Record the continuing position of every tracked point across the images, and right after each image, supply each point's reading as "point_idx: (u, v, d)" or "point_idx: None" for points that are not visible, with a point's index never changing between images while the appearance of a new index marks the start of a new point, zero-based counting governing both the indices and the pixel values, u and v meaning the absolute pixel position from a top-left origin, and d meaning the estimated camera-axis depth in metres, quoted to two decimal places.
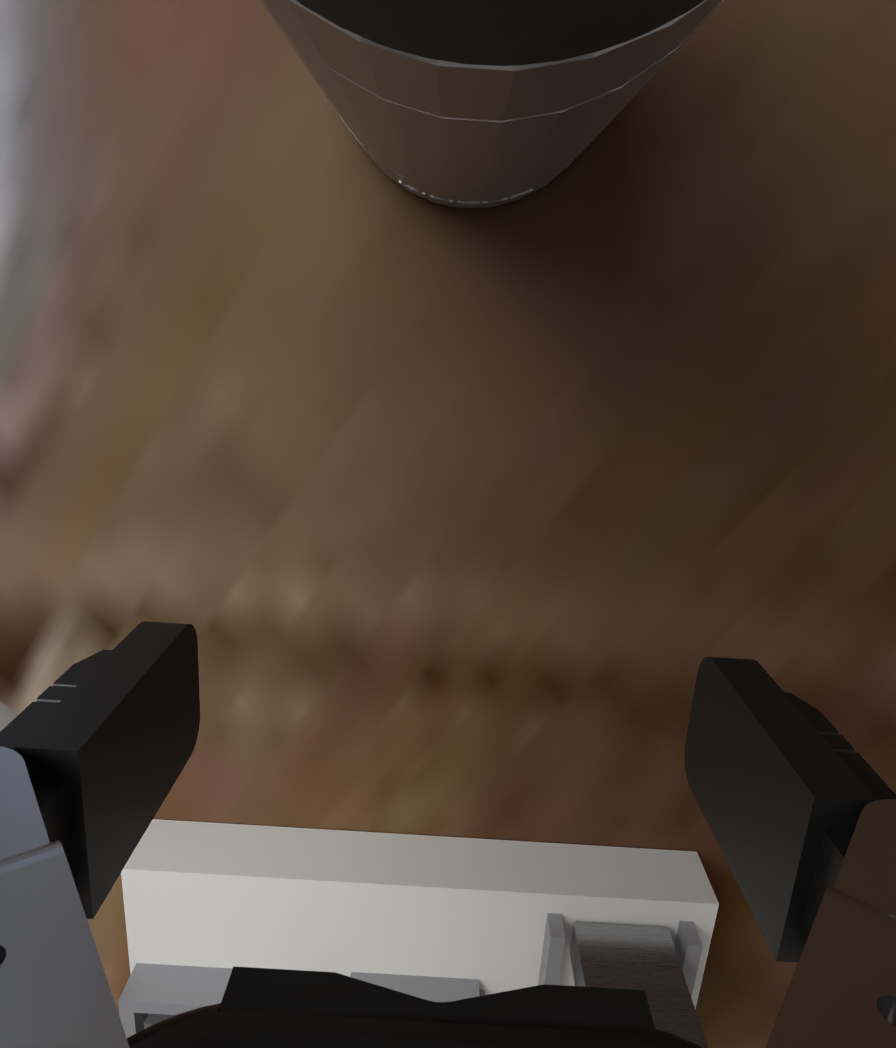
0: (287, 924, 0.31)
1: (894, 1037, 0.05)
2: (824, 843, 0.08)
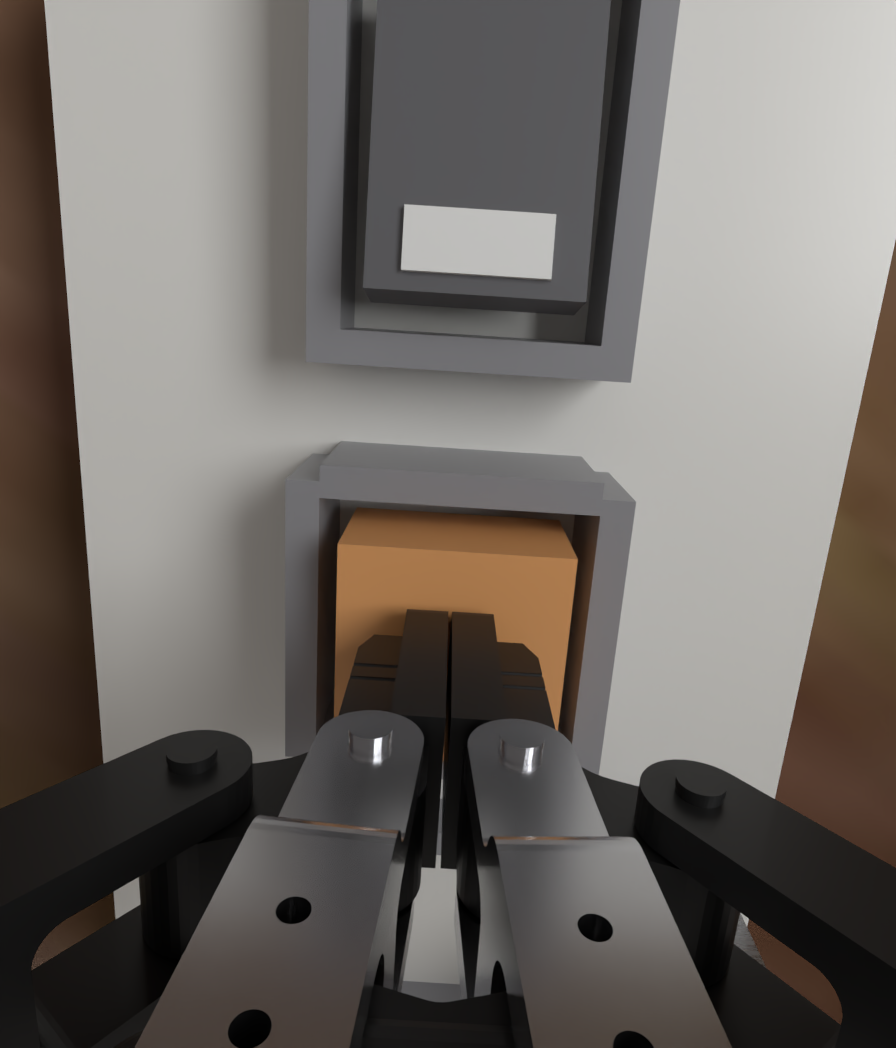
0: (749, 342, 0.15)
1: (599, 953, 0.05)
2: None
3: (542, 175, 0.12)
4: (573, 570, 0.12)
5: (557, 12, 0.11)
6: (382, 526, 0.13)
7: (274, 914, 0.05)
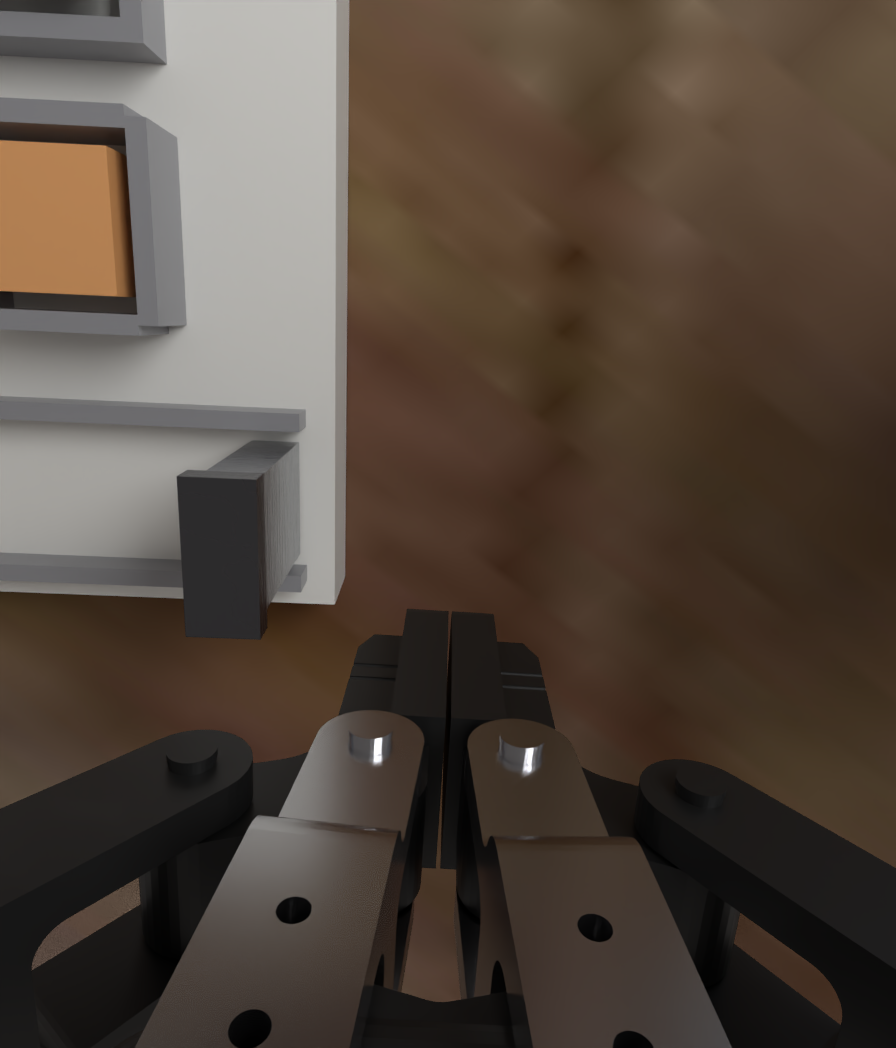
0: (254, 38, 0.22)
1: (599, 951, 0.05)
2: None
3: None
4: (105, 154, 0.20)
5: None
6: None
7: (274, 914, 0.05)
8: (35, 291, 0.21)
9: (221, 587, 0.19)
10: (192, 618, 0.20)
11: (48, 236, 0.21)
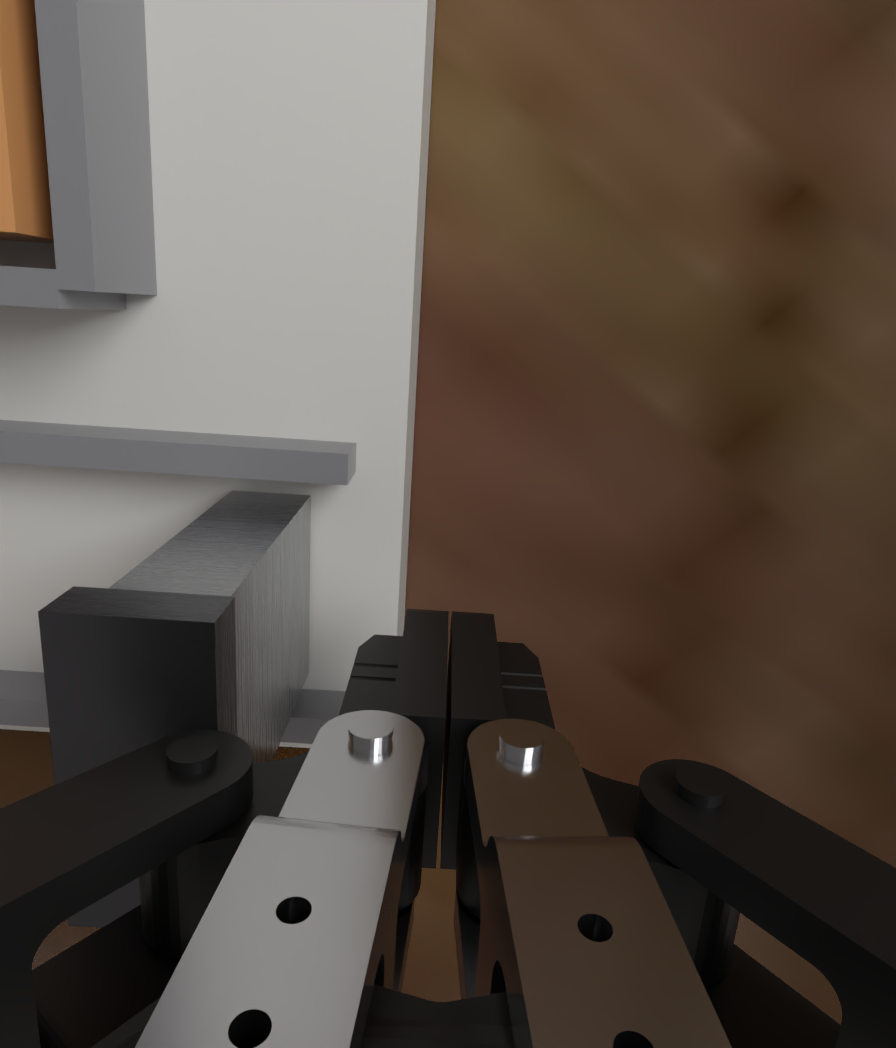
0: None
1: (598, 950, 0.05)
2: None
3: None
4: None
5: None
6: None
7: (275, 914, 0.05)
8: None
9: None
10: None
11: None
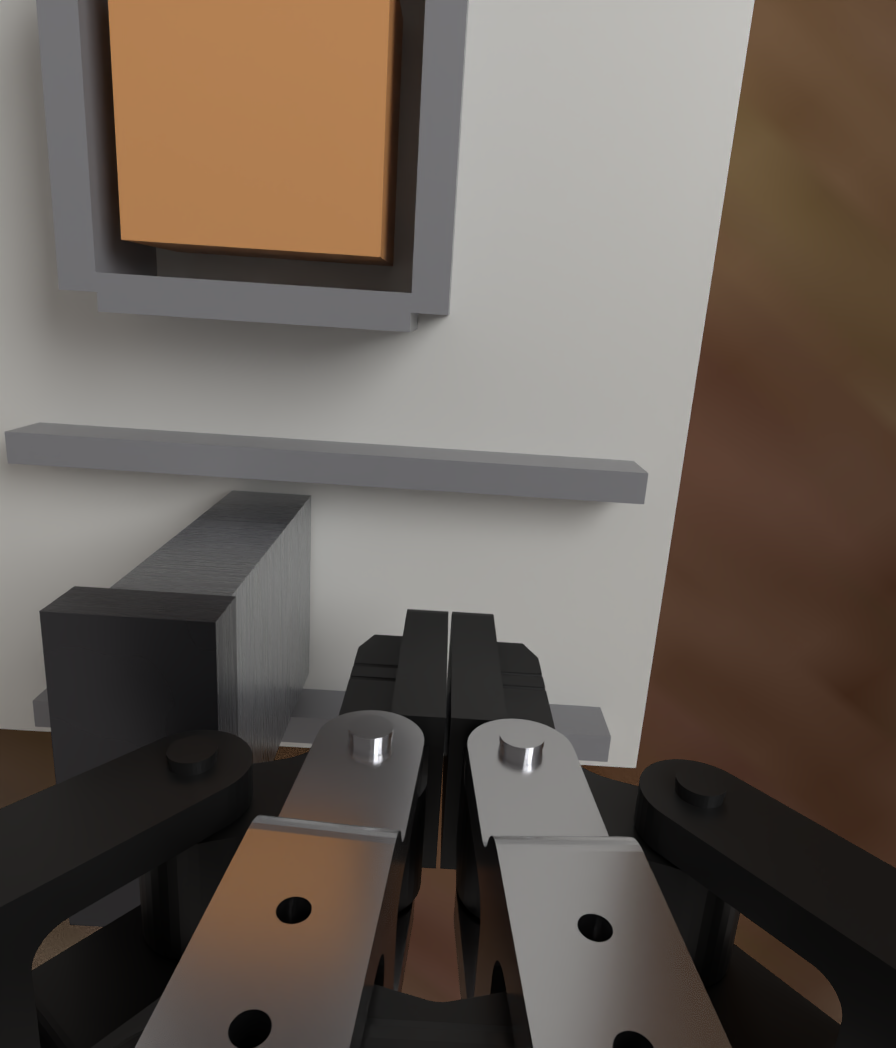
0: None
1: (599, 950, 0.05)
2: None
3: None
4: None
5: None
6: None
7: (275, 914, 0.05)
8: (227, 244, 0.11)
9: None
10: None
11: (262, 137, 0.11)
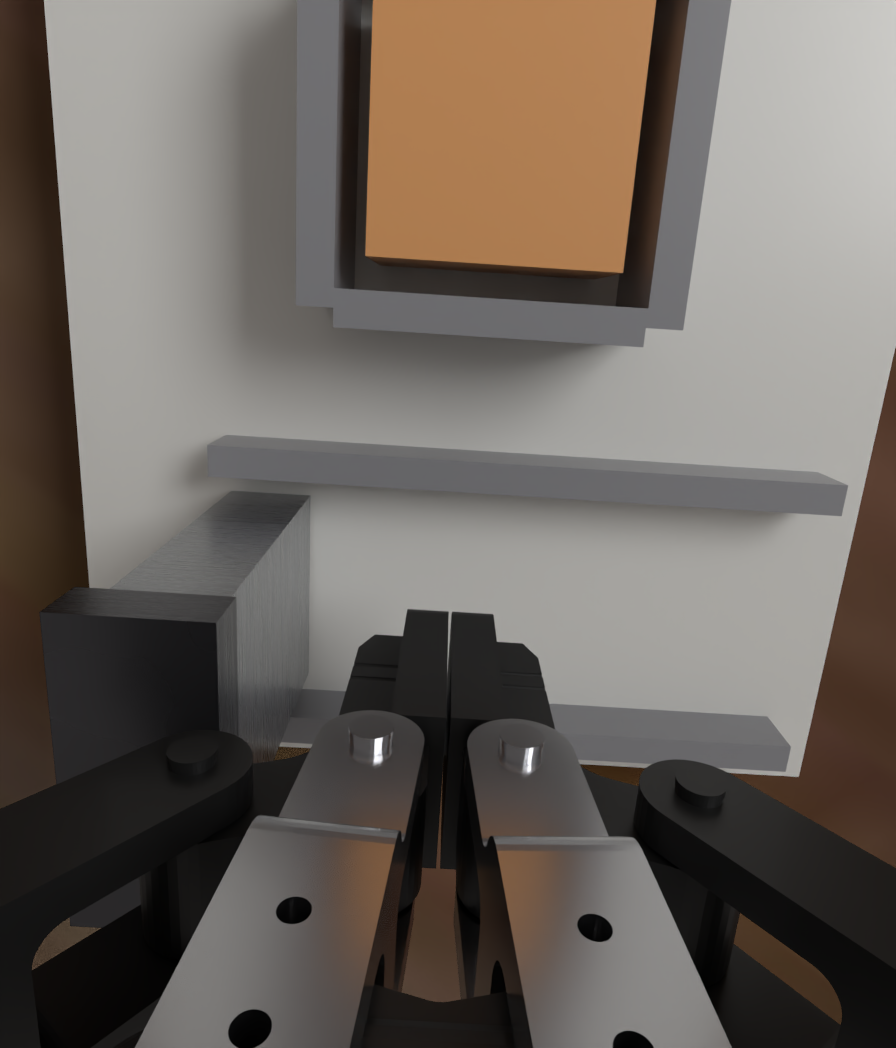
0: None
1: (598, 950, 0.05)
2: None
3: None
4: None
5: None
6: None
7: (275, 914, 0.05)
8: (472, 260, 0.11)
9: None
10: None
11: (514, 154, 0.11)
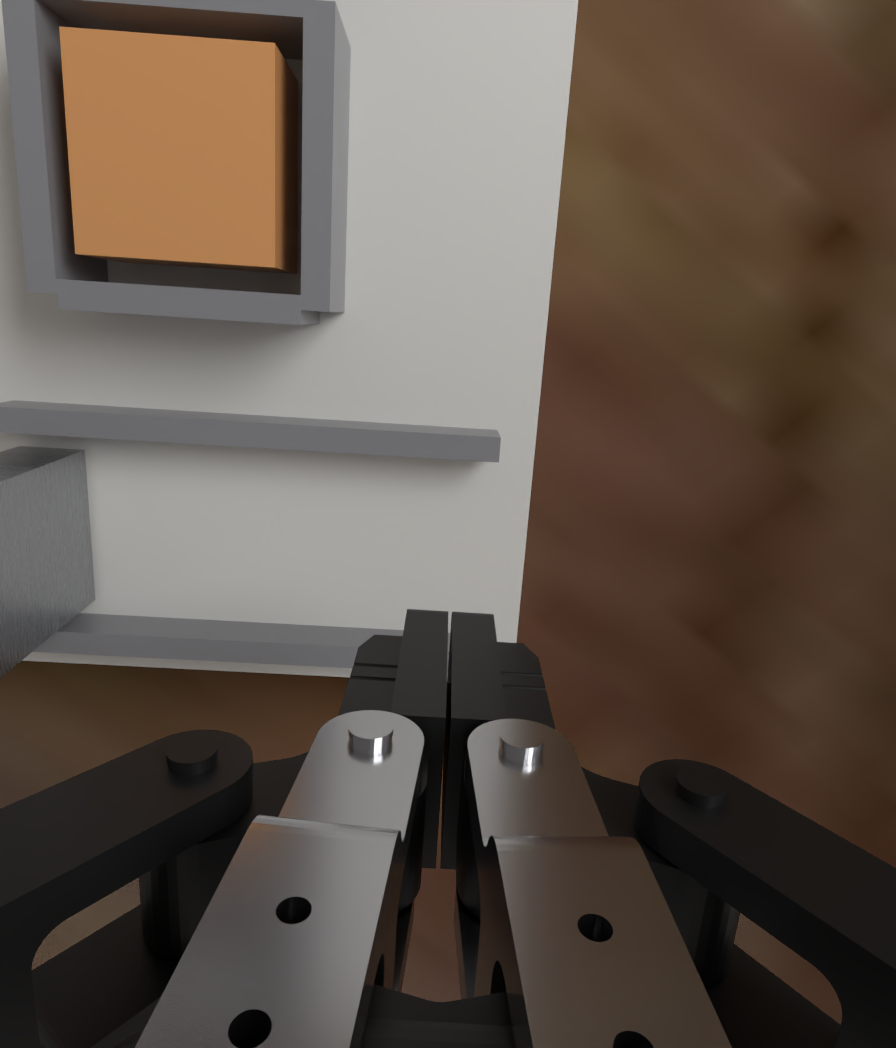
0: None
1: (598, 950, 0.05)
2: None
3: None
4: (272, 56, 0.14)
5: None
6: None
7: (274, 914, 0.05)
8: (157, 258, 0.15)
9: None
10: None
11: (181, 177, 0.14)
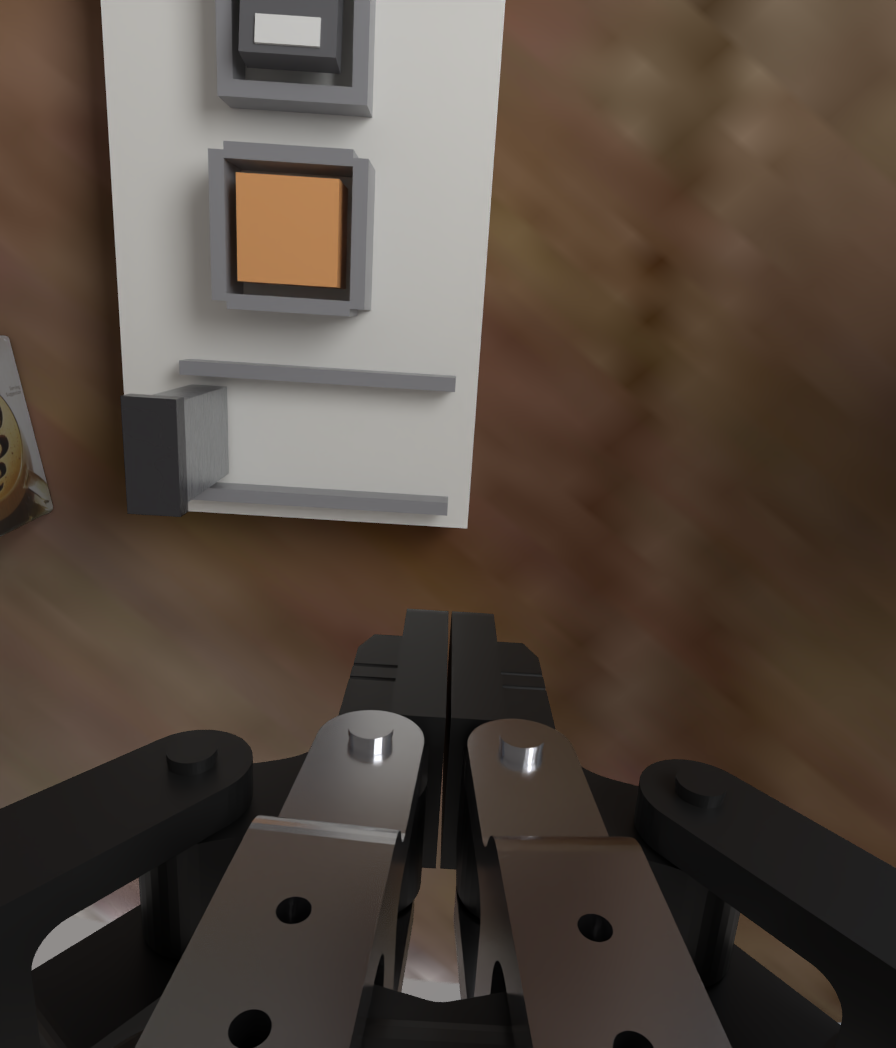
0: (438, 99, 0.30)
1: (599, 953, 0.05)
2: None
3: (315, 0, 0.27)
4: (338, 185, 0.28)
5: None
6: None
7: (275, 914, 0.05)
8: (278, 282, 0.29)
9: (152, 477, 0.27)
10: (132, 499, 0.28)
11: (292, 243, 0.29)
